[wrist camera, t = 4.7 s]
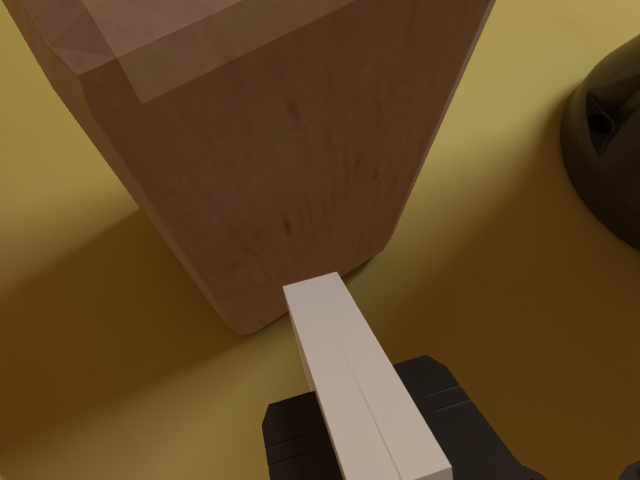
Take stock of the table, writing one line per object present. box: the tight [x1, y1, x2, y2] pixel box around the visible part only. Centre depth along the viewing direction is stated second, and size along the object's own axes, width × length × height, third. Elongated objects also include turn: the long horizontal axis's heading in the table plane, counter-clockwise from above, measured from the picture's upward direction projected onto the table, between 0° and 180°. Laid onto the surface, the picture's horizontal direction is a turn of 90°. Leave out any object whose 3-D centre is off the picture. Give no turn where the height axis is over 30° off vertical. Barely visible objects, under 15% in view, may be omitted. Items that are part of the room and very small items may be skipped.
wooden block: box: [2, 0, 496, 336], centre depth 18 cm, size 10×10×20 cm
